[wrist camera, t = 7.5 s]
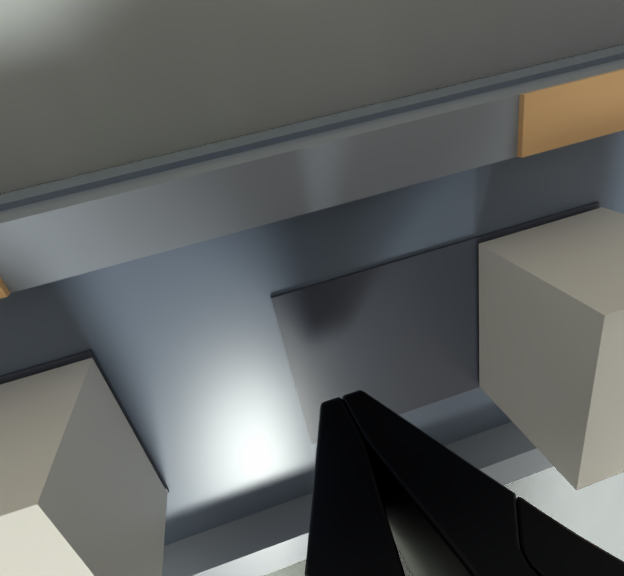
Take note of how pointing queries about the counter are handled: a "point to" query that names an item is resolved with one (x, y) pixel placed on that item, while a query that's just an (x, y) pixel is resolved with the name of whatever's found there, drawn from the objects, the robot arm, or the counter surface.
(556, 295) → the off-white rectangular block
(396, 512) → the robot arm
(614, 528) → the counter surface
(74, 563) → the cream block
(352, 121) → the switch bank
